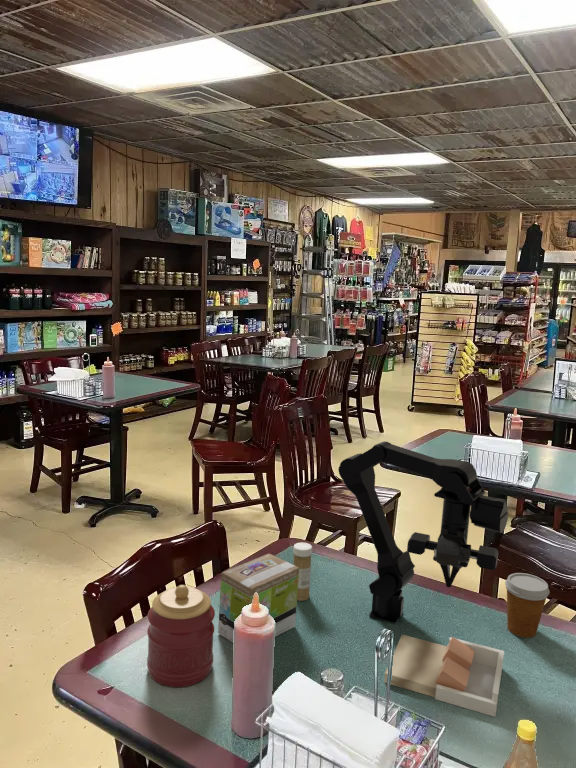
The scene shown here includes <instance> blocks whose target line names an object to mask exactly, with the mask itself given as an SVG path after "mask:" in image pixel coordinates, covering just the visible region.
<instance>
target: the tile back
mask: <svg viewBox="0 0 576 768" xmlns="http://www.w3.org/2000/svg"><path fill="white" fill-rule="evenodd" d="M457 639H458V638H456V639H455V637H454V636H452V638H451V640H450V642H449V641H448V644H447V645H446V646H447V647H446V649H445V653H444V656H443V659H442V661H445V659H446V657H448V658H450V659H451V660H453V661H454V662H456V663H457V664H459V665H460V666H462V667H463V668H465V669H466V670H468V669H469V667H470V665H471V664H472V659H473V655H474V650H473V649H471V648H470V647H468V646H466V645H465V644H463V643H462V642H460V641H458V640H457Z"/></svg>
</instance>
